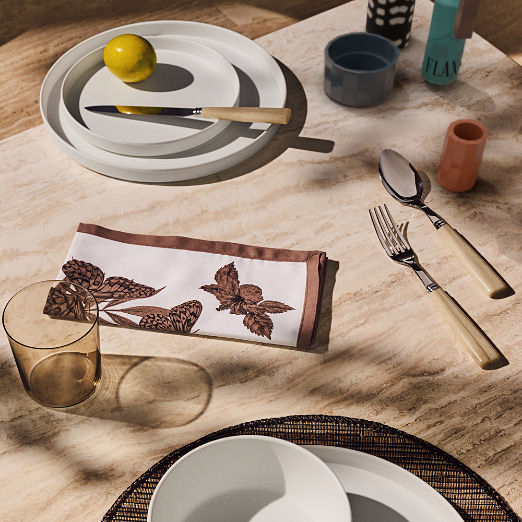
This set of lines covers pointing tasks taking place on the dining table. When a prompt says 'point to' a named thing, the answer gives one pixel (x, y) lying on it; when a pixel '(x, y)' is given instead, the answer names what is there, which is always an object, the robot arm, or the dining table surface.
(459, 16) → the stirring stick
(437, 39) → the beverage bottle
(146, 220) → the dining table surface
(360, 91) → the bowl
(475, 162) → the crock
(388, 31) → the glass
